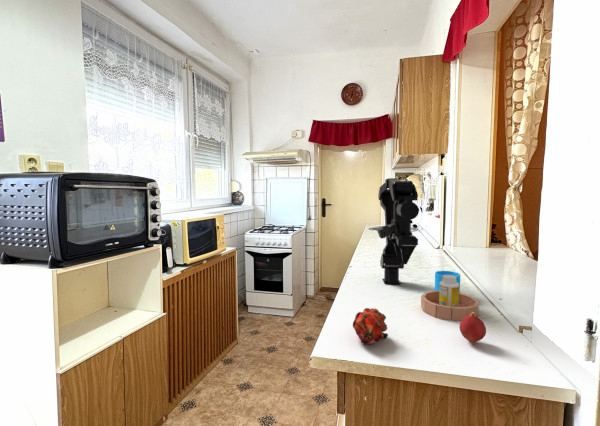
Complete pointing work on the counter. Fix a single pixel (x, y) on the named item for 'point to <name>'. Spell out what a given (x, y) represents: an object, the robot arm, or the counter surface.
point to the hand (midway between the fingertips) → (401, 261)
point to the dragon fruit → (370, 326)
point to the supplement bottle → (449, 291)
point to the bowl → (445, 312)
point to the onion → (472, 328)
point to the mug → (439, 278)
